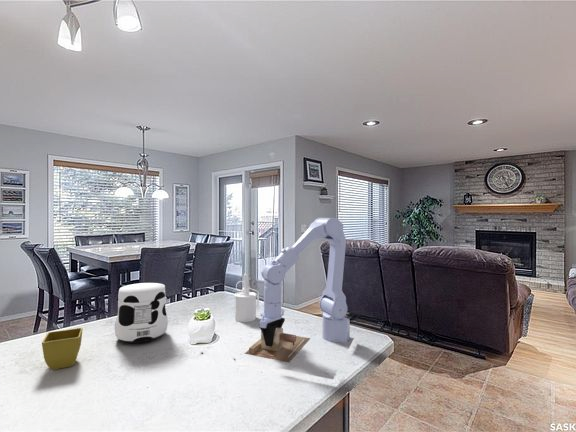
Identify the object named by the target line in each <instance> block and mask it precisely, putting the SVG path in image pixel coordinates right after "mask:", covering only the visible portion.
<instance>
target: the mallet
mask: <svg viewBox="0 0 576 432" xmlns="http://www.w3.org/2000/svg"><path fill="white" fill-rule="evenodd" d="M296 336H297V335H296V334H290V333H284V328H283V327H282V328H278V327H277V328H276V330H275V333H274V340H273V345H272V347H270V346H266V344H265V340H264V336H263V333H262V331H261V330H260V339H261V348H263V349H268V350H273V351H279V350H280V349H281V348H282V347H283V341H286V342H291V343H293V345H294V343H295V342H296Z"/></svg>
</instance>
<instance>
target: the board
mask: <svg viewBox="0 0 576 432" xmlns="http://www.w3.org/2000/svg"><path fill="white" fill-rule="evenodd" d="M310 339H311V338H310V337H307V336H306V337H305V336H300V335H296V342H295V343H294V345H293V343H291V342H286V341H283V347H282V348H281V349H280V350H279V351H273V350H268V349H263V348H261V338H259V339H258V341H256V342H255V343H253V344H252V345H251V346H250V347H249V348H248V350H247V351H245V352H244V354H245V355H248V356H255V357H259V358H264V359H269V360H274V361H279V362H285V363H291V361H292V360H293V359H294V358H295V357H296V355H297V354H298V353H299V352H300V351H301V350H302V349H303V348H304V346H305V345H306V344H307V342H309V341H310Z"/></svg>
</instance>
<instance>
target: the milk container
mask: <svg viewBox="0 0 576 432" xmlns="http://www.w3.org/2000/svg"><path fill="white" fill-rule="evenodd" d="M166 298H167V297H166V285H165V284H163V283H159V282H140V283H133V284H127V285H123V286H121V287H120V288H119V290H118V295H117V299H118V300H117V316H116V320H115V324H114V333H115V336H116V339H117V340H119V341H120V342H124V343H129V344H134V343H135V344H136V343H143V342H144V343H145V342H149V341H153V340H156V339H158V338H160V337H162V336H163V335H164V334H165V333H166V331H167V330H168V325H169V323H168V322H169V320H168V319H169V318H168V314H167V311H166Z"/></svg>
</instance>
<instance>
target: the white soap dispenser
mask: <svg viewBox="0 0 576 432" xmlns="http://www.w3.org/2000/svg"><path fill="white" fill-rule="evenodd" d="M249 277H250V276H249V275H248V273H244V274H243V280H239V281H237V282H236V285H235V289H236V291H239V292H235V293H234V320H233V323H234V324H237V323H238V322H241V323H247V322H249V323H250V322H253V321H255V320H256V319H257V310H258V311H259V307H260V292H259V291H258V290H257V289H253V288H251V286H250V283H249V282H250V281H249V279H250V278H249ZM242 282H243V287H242V289H238V288H237V286H238V284H239V283H242ZM250 290H251V291H250ZM253 291H255V292H253Z"/></svg>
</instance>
